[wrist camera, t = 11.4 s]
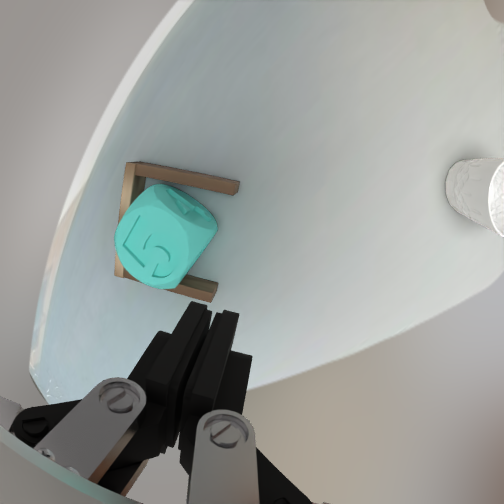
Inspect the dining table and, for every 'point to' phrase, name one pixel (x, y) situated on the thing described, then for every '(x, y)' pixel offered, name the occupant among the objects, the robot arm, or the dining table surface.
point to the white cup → (478, 191)
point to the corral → (141, 170)
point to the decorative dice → (163, 236)
